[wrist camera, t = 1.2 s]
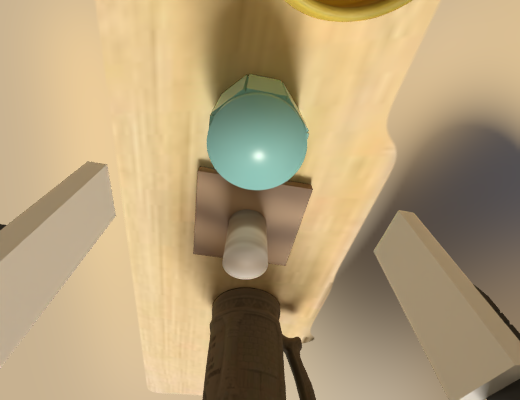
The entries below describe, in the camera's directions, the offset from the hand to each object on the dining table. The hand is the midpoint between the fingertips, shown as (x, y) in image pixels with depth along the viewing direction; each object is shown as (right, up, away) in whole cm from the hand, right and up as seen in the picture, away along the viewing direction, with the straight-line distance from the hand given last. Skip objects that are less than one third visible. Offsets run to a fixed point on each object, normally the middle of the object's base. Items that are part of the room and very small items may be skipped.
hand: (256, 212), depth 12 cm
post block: (-1, -2, +19) cm, 19 cm away
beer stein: (0, -17, +29) cm, 34 cm away
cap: (0, +8, +12) cm, 14 cm away
